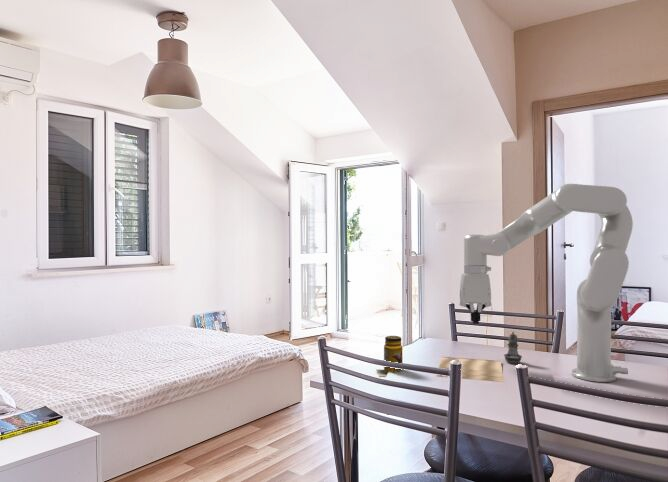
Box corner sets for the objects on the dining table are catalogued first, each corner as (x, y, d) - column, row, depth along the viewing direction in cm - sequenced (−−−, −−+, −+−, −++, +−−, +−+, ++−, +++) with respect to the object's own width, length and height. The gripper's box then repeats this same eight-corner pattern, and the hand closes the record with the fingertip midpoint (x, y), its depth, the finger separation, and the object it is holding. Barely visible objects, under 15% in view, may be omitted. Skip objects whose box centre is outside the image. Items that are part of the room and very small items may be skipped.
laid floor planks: (502, 376, 158) (502, 372, 158) (503, 385, 148) (503, 381, 148) (438, 371, 163) (438, 367, 163) (436, 380, 154) (436, 376, 154)
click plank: (500, 364, 170) (500, 360, 169) (502, 376, 158) (502, 372, 158) (441, 360, 175) (441, 356, 175) (438, 371, 164) (438, 367, 164)
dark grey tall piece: (523, 365, 171) (523, 331, 171) (519, 369, 166) (520, 333, 166) (506, 363, 174) (506, 329, 174) (501, 366, 169) (502, 332, 169)
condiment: (405, 376, 158) (405, 339, 158) (379, 376, 158) (379, 339, 157) (401, 370, 165) (401, 334, 165) (376, 370, 165) (376, 334, 165)
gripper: (495, 269, 173) (495, 321, 173) (451, 269, 175) (452, 321, 175) (500, 271, 165) (500, 325, 166) (454, 271, 167) (454, 325, 167)
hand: (475, 323), depth 170 cm, fingers closed
